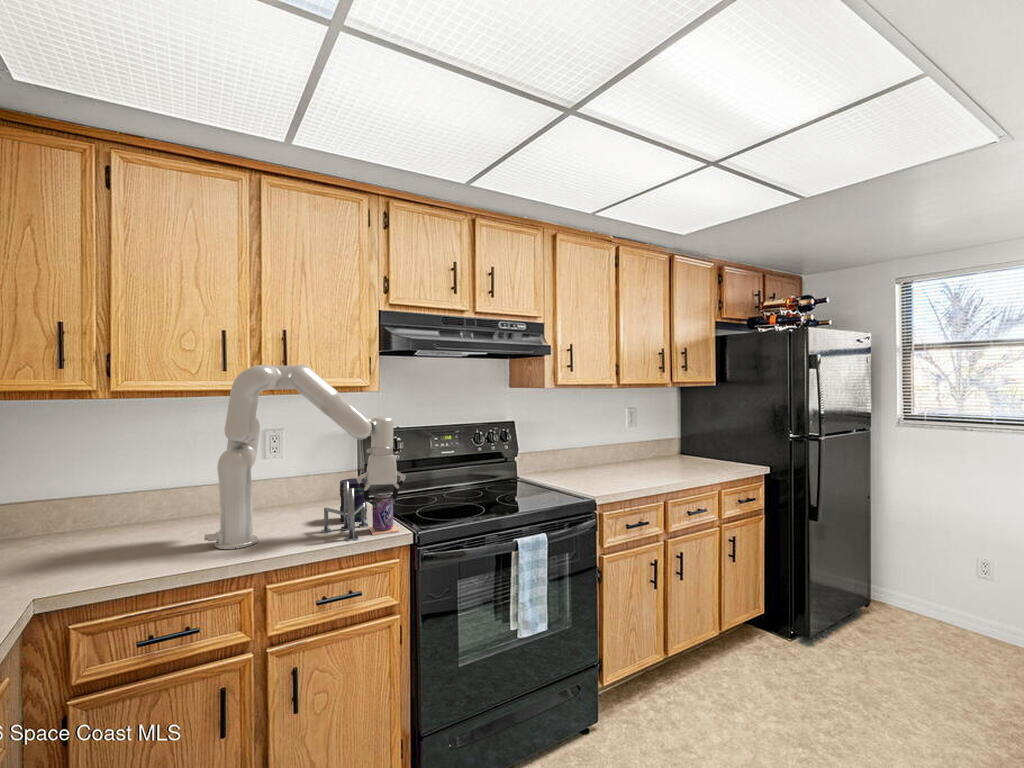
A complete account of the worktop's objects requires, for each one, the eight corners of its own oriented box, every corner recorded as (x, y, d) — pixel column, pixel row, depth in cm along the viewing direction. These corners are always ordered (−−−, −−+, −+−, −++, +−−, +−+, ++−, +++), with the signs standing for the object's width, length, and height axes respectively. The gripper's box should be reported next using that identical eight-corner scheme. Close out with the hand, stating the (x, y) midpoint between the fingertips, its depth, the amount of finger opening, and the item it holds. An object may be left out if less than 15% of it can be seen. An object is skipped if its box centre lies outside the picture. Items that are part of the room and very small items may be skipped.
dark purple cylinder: (351, 524, 196) (351, 484, 196) (334, 521, 201) (333, 481, 201) (372, 518, 204) (372, 480, 204) (355, 515, 210) (355, 477, 209)
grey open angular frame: (325, 544, 174) (325, 492, 173) (321, 530, 189) (320, 482, 189) (375, 537, 180) (375, 487, 180) (367, 524, 196) (366, 478, 196)
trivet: (372, 535, 183) (372, 533, 183) (368, 528, 191) (368, 527, 191) (398, 532, 186) (398, 530, 186) (393, 525, 194) (393, 523, 194)
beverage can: (374, 532, 184) (374, 498, 184) (371, 527, 190) (370, 493, 190) (395, 530, 187) (394, 496, 186) (391, 524, 193) (390, 492, 193)
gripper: (358, 454, 181) (357, 504, 181) (408, 452, 188) (407, 500, 188) (355, 451, 188) (354, 499, 188) (403, 449, 195) (402, 496, 195)
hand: (380, 500), depth 188 cm, fingers open, 9 cm apart
